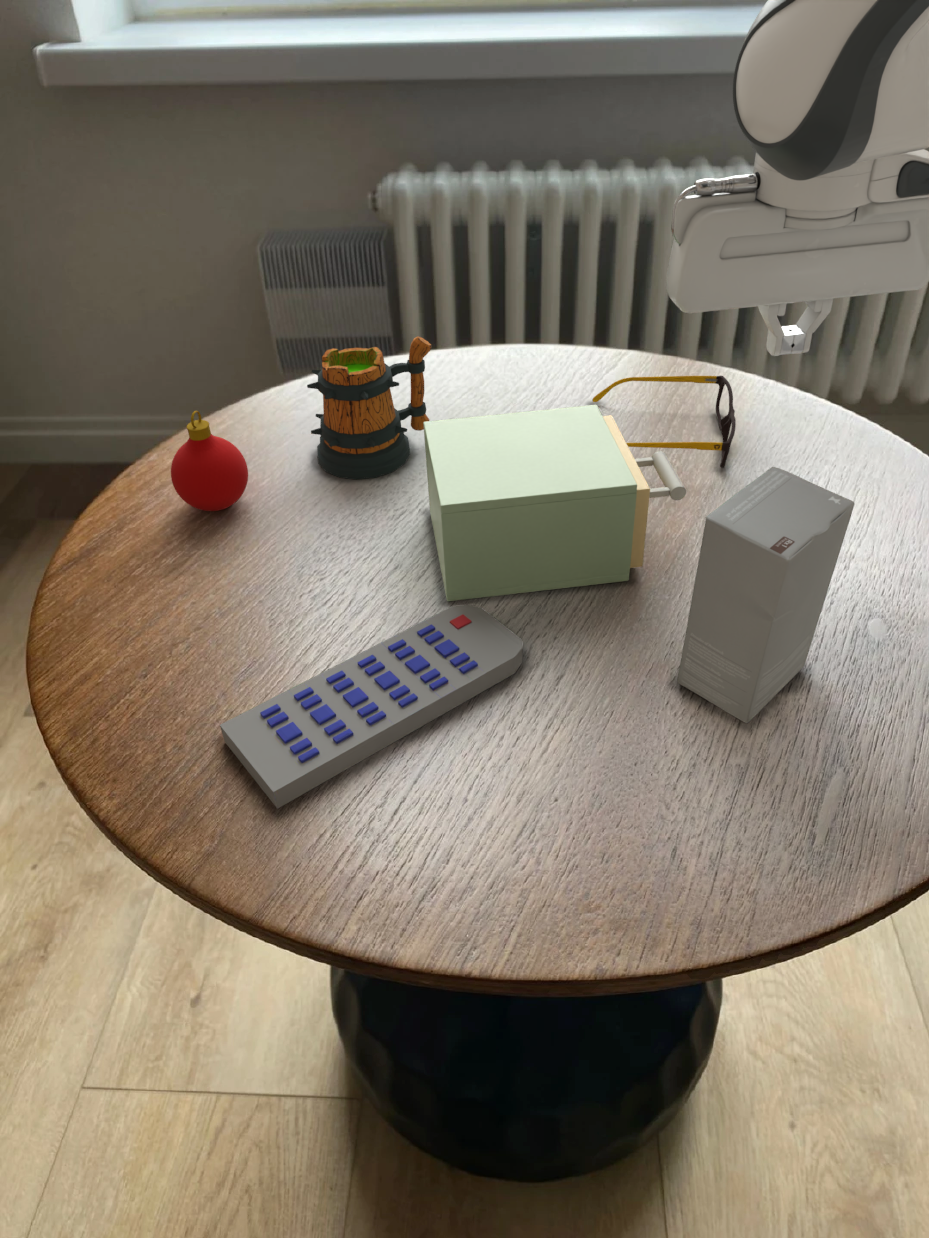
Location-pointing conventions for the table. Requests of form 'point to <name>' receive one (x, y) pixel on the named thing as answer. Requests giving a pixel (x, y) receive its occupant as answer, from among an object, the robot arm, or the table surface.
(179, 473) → the christmas ornament
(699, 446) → the eyeglasses
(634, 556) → the drawer
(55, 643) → the table surface
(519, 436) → the cabinet
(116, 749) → the table surface
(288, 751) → the remote control
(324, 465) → the mug
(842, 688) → the table surface
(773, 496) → the cosmetic box
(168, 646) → the table surface
